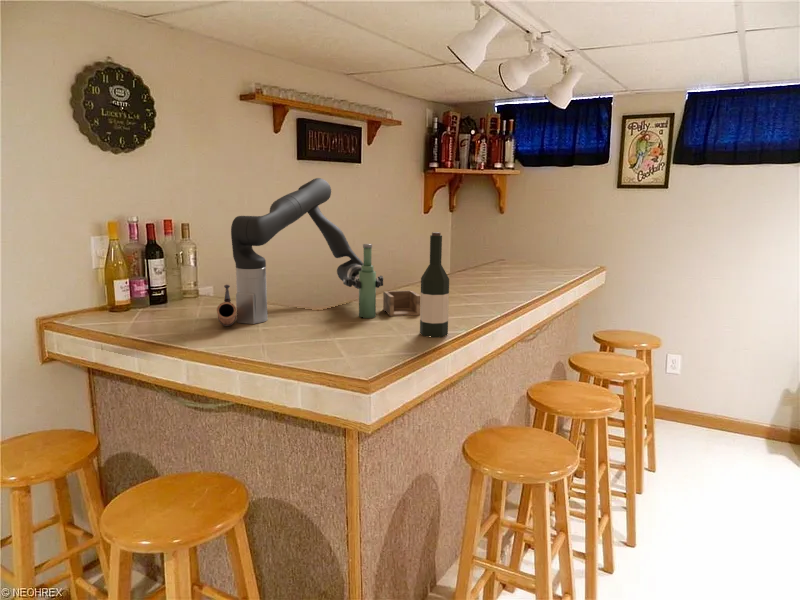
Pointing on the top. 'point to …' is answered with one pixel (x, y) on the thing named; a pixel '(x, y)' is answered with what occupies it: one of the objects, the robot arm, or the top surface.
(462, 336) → the top surface
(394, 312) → the u rest
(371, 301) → the slim bottle
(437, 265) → the wine bottle
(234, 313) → the brown tobacco pipe
